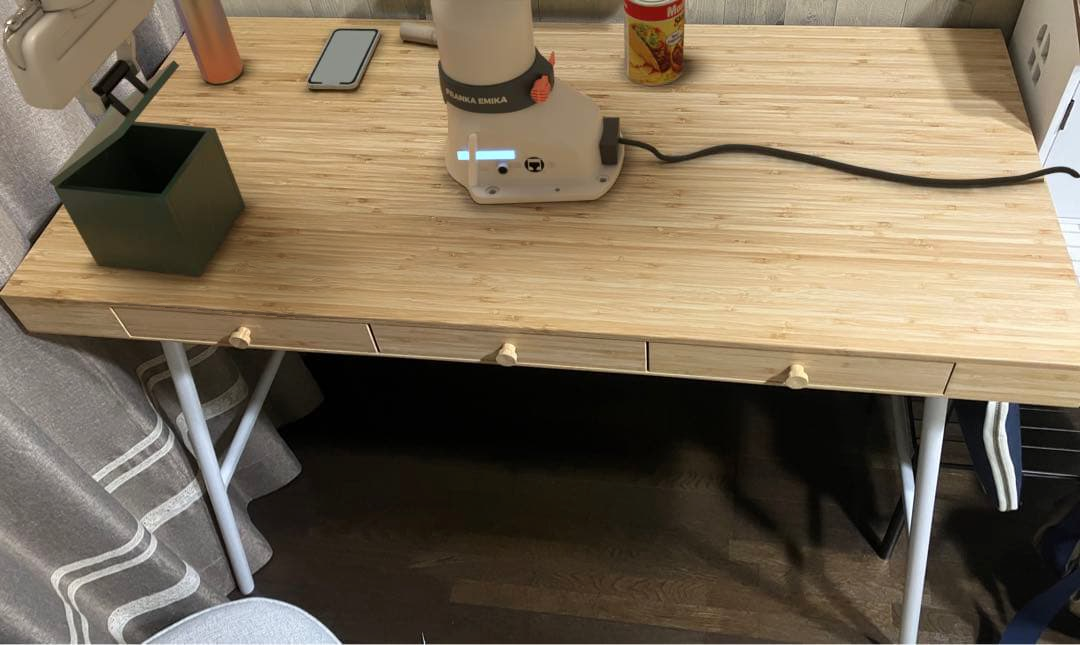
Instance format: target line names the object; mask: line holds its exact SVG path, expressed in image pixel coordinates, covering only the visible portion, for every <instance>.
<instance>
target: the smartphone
mask: <svg viewBox="0 0 1080 645" xmlns="http://www.w3.org/2000/svg"><path fill="white" fill-rule="evenodd" d="M381 36H382V33H381V30H380V28H377V27H338V28H335V29H333V30H332V31H331V33H330V35H329V36H328V38H327V41H326V42H325V45H324V46H323V48H322V50H321V52H320V54H319V56H318V58H317V60H316V62H315V64H314V65H313V67H312V69H311V71H310V73H309V75H308V77H307V79H306V86H307V88H309V89H310V90H311V89H313V90H353V89H355V88H357V87H358V86H359V84H360V81H361V80H362V77H363V75H364V73H365V70H366V68H367V66H368V64H369V61H370V60H371V57H372V55H373V53H374V51H375V49H376V46H377V45H378V42H379V40H380V38H381Z"/></svg>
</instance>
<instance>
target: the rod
mask: <svg viewBox="0 0 1080 645" xmlns="http://www.w3.org/2000/svg"><path fill="white" fill-rule="evenodd" d="M399 38H400V39H401V40H403V41H409V42H416V43H421V44H427V45H433V46H438V44H437V39H436V33H435V27H434V25H429V24H423V23H418V22H414V21H413V22H412V21H408V20H404V21H403V22H401V23H400V26H399Z"/></svg>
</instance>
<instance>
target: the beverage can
mask: <svg viewBox="0 0 1080 645" xmlns="http://www.w3.org/2000/svg"><path fill="white" fill-rule="evenodd" d="M172 3H173V5H174V8H175V10H176V13H177V16H178V18H179V21H180V24H181V26H182V29H183V32H184V34H185V36H186V39H187V41H188V44H189V47H190V49H191V50H190V51H191V52H192V54H193V57H194V61H195V62H196V65H197V68H198V70H199V74H200V76H201V78H203V79H204V80H205V81H206V82H208V83H210V84H213V85H214V84H215V85H223V84H227V83H229V82H233V81H234V80H236V79H237V78H238V77H240V76H241V73H242V72H243V71H242V70H243V67H244V65H243V61H242V59H241V55H240V52H239V50H238V47H237V44H236V41H235V38H234V36H233V33H232V29H231V27H230V24H229V20H228V18H227V15H226V12H225V8H224V7H223V4H222V1H221V0H172Z"/></svg>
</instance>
